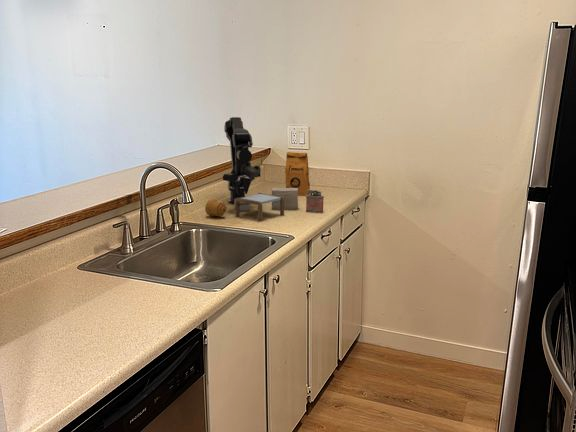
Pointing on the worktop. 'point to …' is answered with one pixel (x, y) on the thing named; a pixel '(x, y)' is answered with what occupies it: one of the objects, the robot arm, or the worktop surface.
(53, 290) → the worktop surface
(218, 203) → the ornamental finial
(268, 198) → the trapdoor
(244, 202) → the stand
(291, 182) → the coffee package
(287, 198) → the grey block
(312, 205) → the lighter
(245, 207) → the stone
